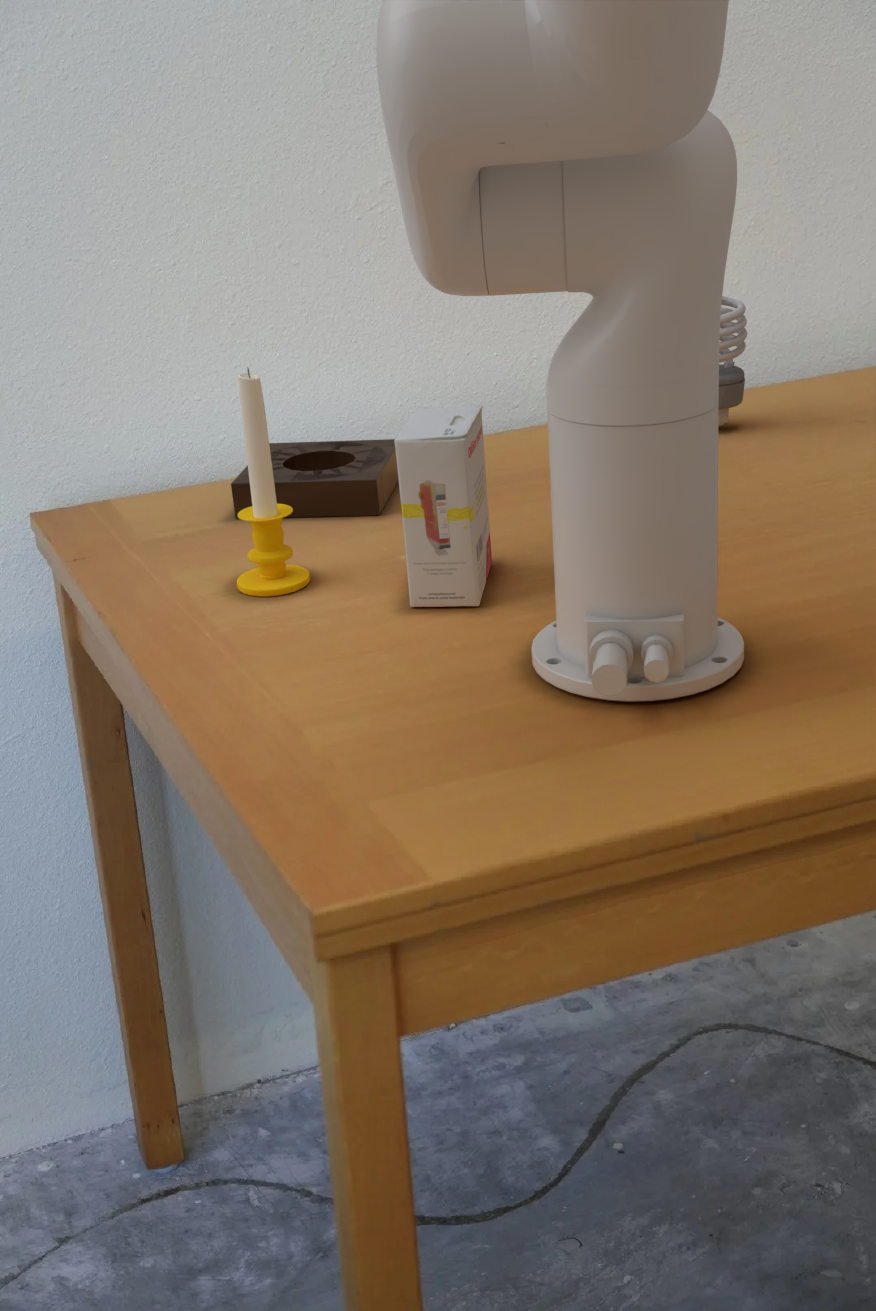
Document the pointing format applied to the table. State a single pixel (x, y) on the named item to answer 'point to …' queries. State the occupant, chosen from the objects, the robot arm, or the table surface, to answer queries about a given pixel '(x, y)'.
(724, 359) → the light bulb
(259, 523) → the candle
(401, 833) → the table surface
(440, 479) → the ink box
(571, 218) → the robot arm
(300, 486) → the holder
